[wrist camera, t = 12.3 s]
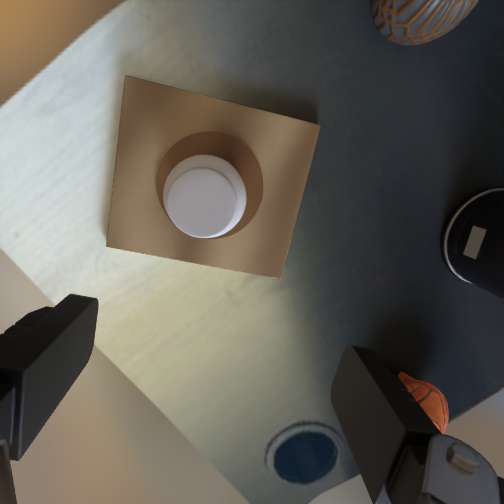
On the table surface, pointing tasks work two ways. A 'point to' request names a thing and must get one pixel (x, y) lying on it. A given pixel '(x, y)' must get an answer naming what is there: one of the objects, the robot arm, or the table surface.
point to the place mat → (211, 143)
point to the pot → (428, 400)
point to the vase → (418, 18)
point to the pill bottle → (204, 196)
